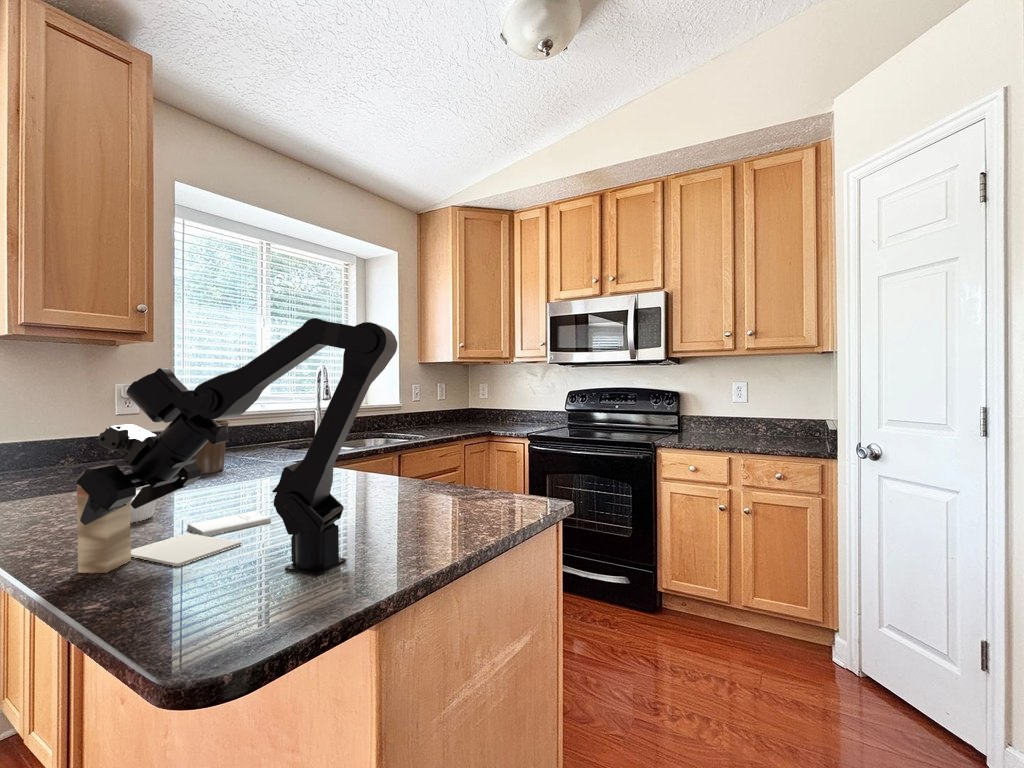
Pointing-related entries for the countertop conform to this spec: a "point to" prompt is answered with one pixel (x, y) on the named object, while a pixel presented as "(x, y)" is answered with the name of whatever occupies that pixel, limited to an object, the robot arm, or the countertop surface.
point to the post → (103, 539)
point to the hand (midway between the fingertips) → (109, 514)
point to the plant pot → (212, 455)
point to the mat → (182, 549)
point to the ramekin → (141, 511)
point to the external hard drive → (228, 523)
